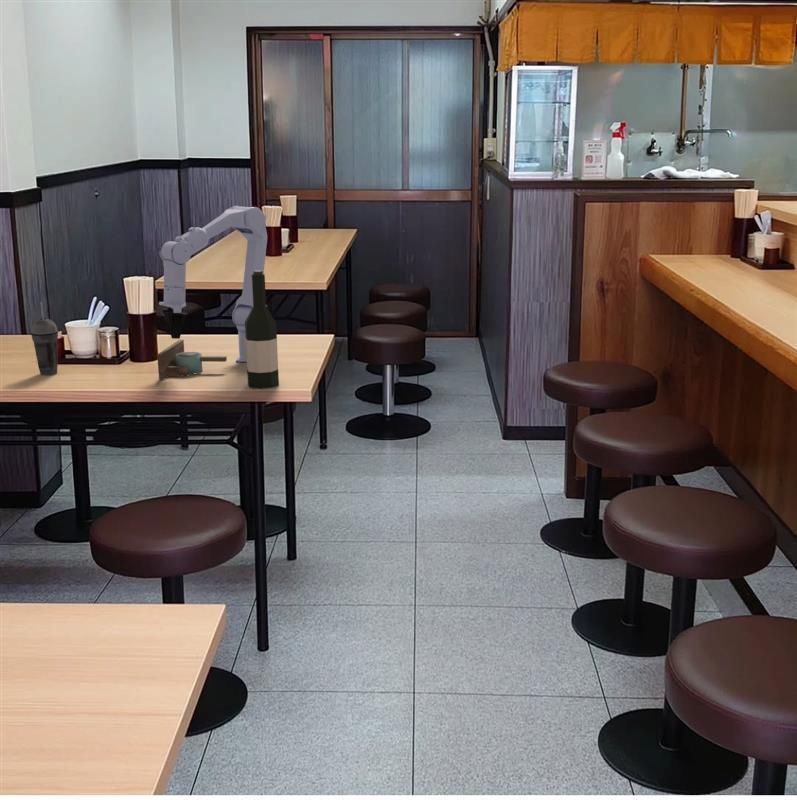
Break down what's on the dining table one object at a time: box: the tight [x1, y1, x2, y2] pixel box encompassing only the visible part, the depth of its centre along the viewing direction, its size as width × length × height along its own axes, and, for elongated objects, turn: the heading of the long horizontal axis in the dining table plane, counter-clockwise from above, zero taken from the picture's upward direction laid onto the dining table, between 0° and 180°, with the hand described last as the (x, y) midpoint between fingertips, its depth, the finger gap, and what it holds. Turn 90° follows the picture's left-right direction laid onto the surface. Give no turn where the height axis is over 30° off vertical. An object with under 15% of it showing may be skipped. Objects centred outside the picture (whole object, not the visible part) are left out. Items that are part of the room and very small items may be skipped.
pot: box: [176, 351, 228, 375], centre depth 280 cm, size 14×7×5 cm, turn 85°
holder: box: [156, 339, 190, 380], centre depth 281 cm, size 6×20×7 cm, turn 175°
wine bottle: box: [245, 270, 280, 389], centre depth 262 cm, size 8×8×30 cm
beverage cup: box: [30, 301, 59, 376], centre depth 278 cm, size 7×7×20 cm
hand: (173, 336), depth 275 cm, fingers open, 7 cm apart
